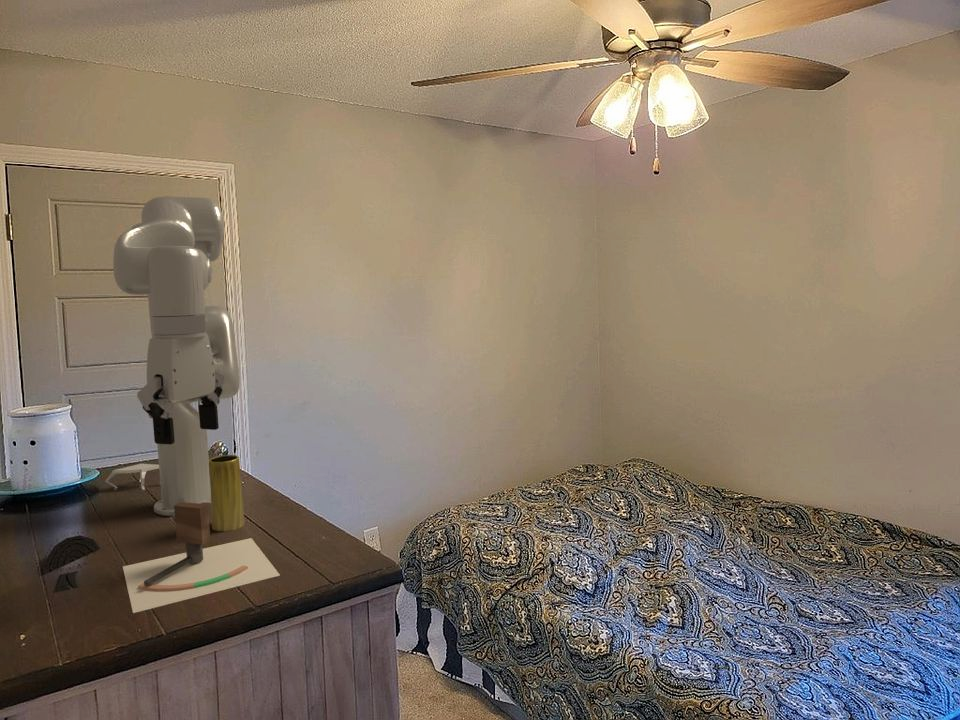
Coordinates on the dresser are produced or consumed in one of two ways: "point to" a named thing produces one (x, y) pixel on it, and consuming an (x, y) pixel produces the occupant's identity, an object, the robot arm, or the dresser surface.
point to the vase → (226, 493)
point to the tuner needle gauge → (188, 535)
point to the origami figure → (132, 469)
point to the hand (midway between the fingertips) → (188, 435)
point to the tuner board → (197, 574)
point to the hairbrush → (68, 558)
